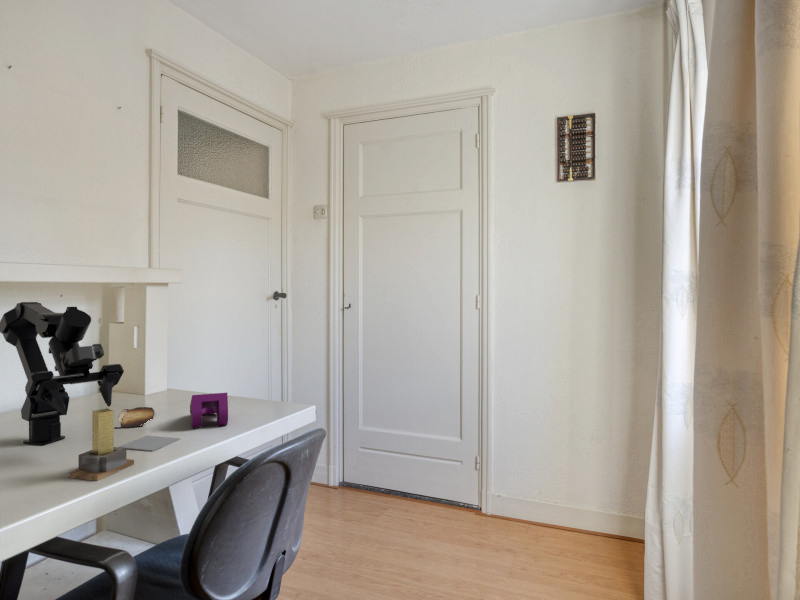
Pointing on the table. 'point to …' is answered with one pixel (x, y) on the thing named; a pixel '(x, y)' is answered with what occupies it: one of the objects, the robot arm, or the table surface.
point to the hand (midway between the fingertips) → (87, 409)
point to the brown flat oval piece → (135, 417)
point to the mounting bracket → (209, 408)
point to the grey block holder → (101, 464)
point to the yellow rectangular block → (102, 432)
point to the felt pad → (149, 443)
